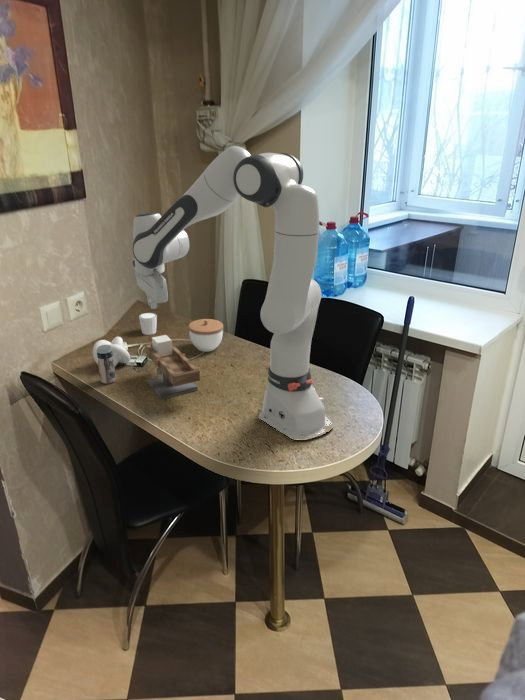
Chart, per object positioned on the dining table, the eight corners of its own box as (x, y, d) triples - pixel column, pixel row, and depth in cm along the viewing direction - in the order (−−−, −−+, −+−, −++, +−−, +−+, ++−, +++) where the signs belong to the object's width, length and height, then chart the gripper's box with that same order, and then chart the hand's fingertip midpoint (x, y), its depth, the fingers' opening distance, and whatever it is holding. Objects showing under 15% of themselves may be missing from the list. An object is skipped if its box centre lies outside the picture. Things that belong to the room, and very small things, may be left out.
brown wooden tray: (206, 399, 152) (205, 369, 148) (169, 409, 147) (167, 378, 142) (175, 366, 172) (174, 338, 167) (141, 374, 166) (139, 345, 162)
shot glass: (152, 327, 203) (151, 311, 200) (161, 332, 198) (159, 316, 195) (137, 331, 199) (135, 314, 196) (145, 336, 194) (144, 320, 191)
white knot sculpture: (103, 376, 164) (100, 351, 160) (88, 363, 172) (84, 339, 169) (134, 366, 171) (132, 342, 167) (118, 354, 179) (115, 331, 175)
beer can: (111, 385, 159) (107, 351, 154) (97, 383, 160) (93, 349, 155) (118, 378, 163) (114, 345, 158) (104, 376, 164) (100, 343, 159)
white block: (172, 354, 161) (171, 340, 158) (158, 357, 158) (157, 343, 156) (167, 348, 164) (166, 334, 162) (153, 351, 162) (151, 337, 160)
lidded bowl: (182, 346, 187) (181, 319, 182) (210, 338, 195) (209, 311, 190) (202, 357, 179) (201, 329, 174) (230, 348, 186) (230, 321, 182)
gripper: (172, 273, 148) (174, 316, 154) (149, 256, 164) (151, 296, 170) (151, 275, 145) (154, 319, 151) (130, 258, 161) (133, 299, 167)
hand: (152, 307), depth 161 cm, fingers closed
